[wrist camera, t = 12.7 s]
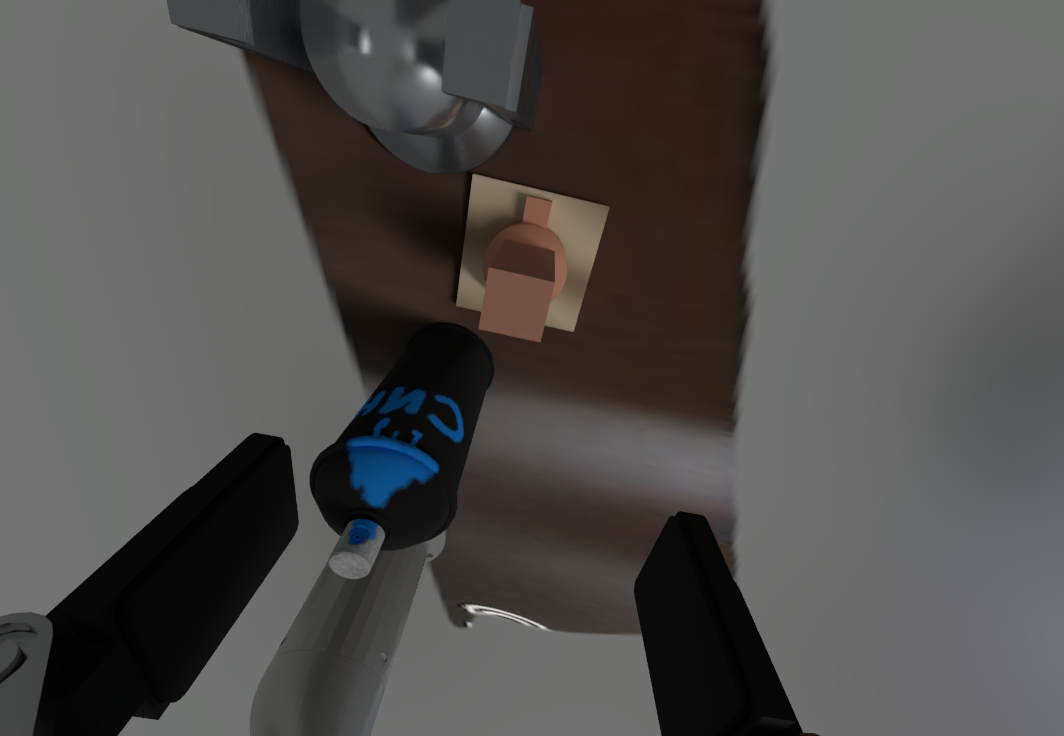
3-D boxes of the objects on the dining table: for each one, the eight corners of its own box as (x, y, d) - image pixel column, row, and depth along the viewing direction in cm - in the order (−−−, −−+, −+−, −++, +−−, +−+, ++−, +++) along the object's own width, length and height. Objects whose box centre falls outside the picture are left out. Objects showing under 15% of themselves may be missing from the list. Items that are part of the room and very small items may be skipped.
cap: (497, 187, 28) (472, 201, 19) (581, 207, 28) (595, 230, 19) (478, 311, 32) (450, 369, 24) (550, 327, 33) (549, 390, 24)
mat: (573, 329, 33) (573, 331, 33) (457, 303, 33) (456, 305, 32) (608, 205, 29) (609, 206, 28) (474, 173, 28) (472, 174, 27)
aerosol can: (488, 409, 38) (430, 629, 20) (403, 393, 37) (269, 603, 20) (501, 333, 34) (444, 522, 16) (406, 314, 33) (243, 487, 16)
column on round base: (556, -5, 23) (560, -175, 11) (520, 192, 28) (497, 217, 17) (338, -64, 22) (96, -313, 11) (341, 149, 28) (182, 143, 16)
